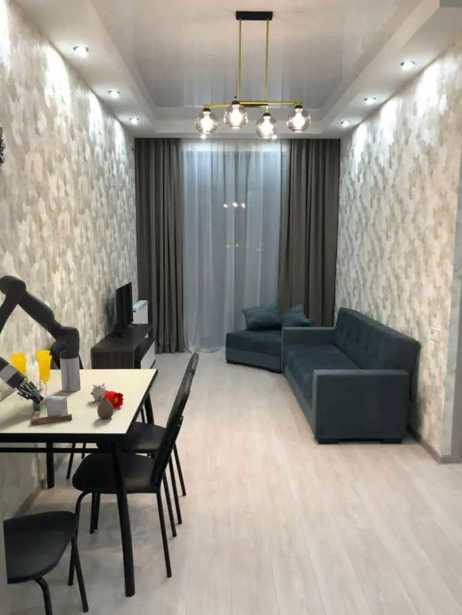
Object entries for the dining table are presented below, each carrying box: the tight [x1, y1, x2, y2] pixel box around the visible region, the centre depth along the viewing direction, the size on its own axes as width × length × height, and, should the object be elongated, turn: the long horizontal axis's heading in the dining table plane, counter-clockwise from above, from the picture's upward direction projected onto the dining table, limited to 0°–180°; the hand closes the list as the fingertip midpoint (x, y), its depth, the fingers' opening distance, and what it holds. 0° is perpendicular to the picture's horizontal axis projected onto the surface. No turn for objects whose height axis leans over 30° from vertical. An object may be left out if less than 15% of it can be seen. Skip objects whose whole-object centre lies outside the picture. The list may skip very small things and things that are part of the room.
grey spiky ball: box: [90, 383, 109, 403], centre depth 242 cm, size 9×8×10 cm
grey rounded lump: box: [96, 398, 115, 421], centre depth 218 cm, size 7×7×9 cm
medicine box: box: [45, 395, 69, 417], centre depth 221 cm, size 8×4×9 cm, turn 71°
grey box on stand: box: [31, 388, 73, 425], centre depth 222 cm, size 18×17×10 cm
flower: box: [103, 390, 125, 410], centre depth 233 cm, size 8×8×8 cm
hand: (41, 401), depth 227 cm, fingers closed on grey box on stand, 3 cm apart
